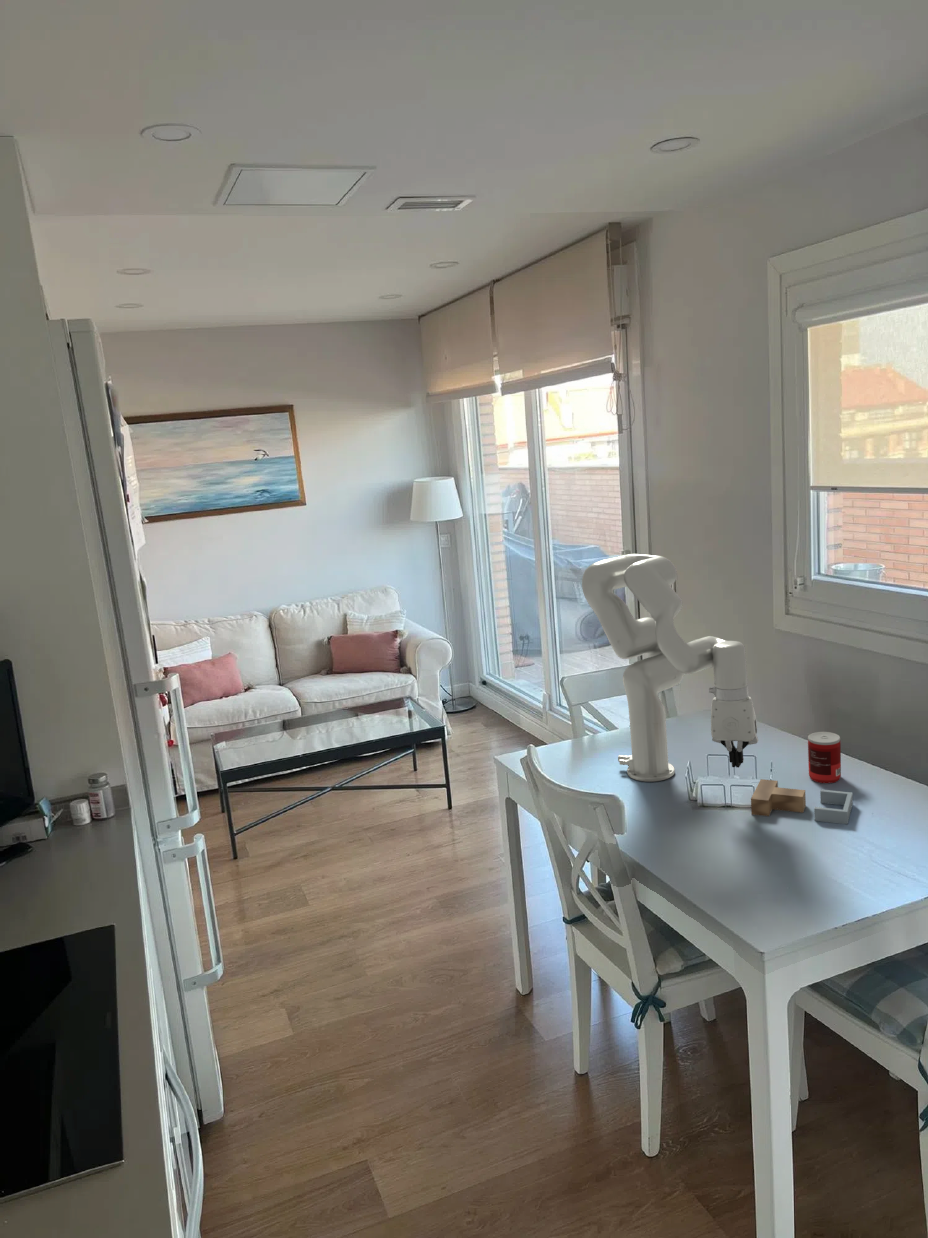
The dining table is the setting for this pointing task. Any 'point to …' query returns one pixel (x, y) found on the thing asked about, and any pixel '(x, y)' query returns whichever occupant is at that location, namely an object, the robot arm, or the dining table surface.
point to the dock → (834, 814)
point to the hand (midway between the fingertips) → (736, 765)
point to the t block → (776, 798)
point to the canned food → (824, 757)
